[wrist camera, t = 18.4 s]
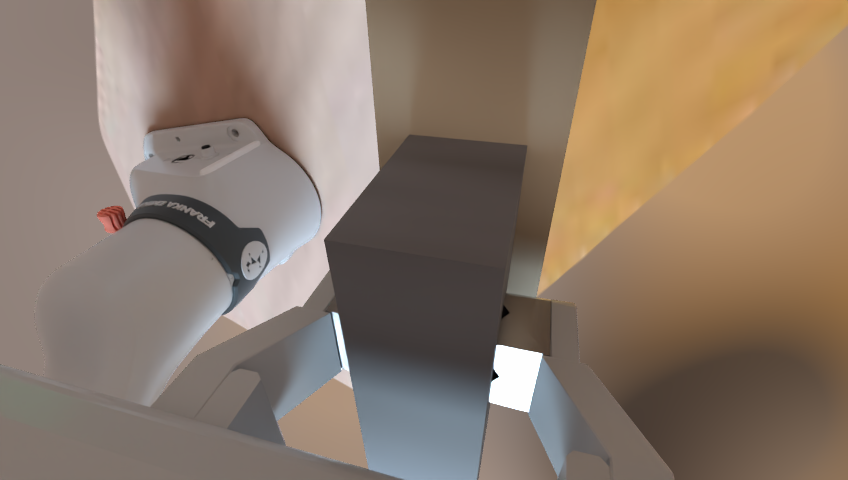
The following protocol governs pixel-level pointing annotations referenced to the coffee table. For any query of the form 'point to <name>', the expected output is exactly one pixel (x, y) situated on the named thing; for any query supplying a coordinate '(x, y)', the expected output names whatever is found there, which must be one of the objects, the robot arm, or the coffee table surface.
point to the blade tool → (451, 214)
